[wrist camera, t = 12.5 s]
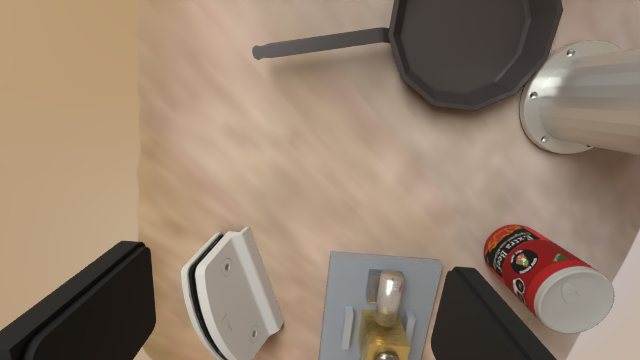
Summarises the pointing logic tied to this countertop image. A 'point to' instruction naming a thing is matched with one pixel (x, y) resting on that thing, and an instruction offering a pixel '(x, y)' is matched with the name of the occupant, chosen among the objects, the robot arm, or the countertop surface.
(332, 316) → the board
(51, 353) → the robot arm
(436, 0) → the frying pan
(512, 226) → the canned food
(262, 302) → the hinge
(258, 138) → the countertop surface
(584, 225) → the countertop surface
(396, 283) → the shaft
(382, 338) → the coupler
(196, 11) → the countertop surface
